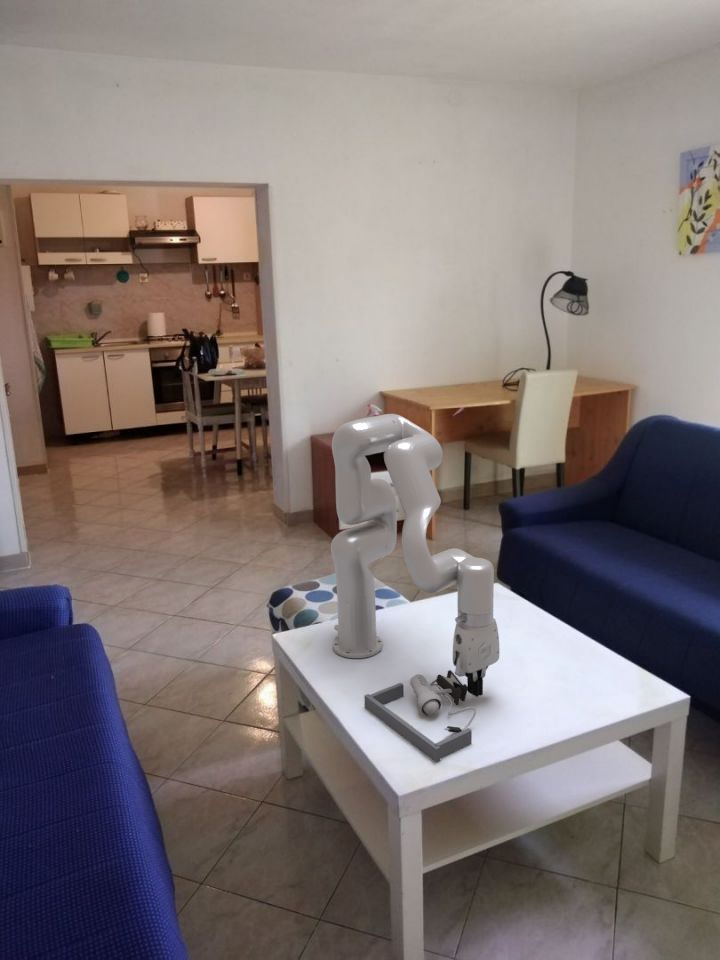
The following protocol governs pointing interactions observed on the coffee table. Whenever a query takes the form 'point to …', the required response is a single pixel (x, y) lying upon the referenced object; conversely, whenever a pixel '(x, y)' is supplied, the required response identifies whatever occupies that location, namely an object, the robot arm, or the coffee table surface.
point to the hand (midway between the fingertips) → (475, 693)
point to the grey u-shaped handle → (407, 731)
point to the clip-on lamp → (430, 698)
